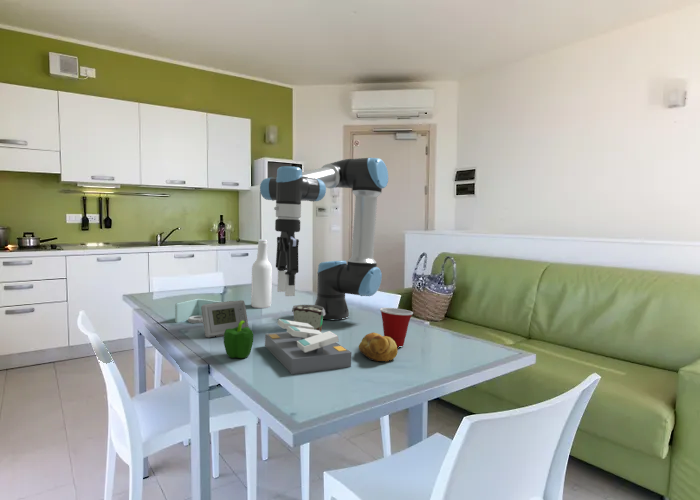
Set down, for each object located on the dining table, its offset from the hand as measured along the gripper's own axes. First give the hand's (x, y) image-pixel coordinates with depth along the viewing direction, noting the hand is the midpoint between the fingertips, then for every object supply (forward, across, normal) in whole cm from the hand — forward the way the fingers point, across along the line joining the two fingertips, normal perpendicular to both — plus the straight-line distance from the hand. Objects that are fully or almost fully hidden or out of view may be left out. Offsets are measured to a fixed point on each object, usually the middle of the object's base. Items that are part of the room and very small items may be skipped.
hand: (285, 293), depth 133 cm
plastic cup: (+17, +9, +34) cm, 40 cm away
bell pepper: (+17, +3, -14) cm, 23 cm away
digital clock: (+17, -23, -14) cm, 32 cm away
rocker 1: (+10, 0, +4) cm, 11 cm away
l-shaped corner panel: (+18, -43, -19) cm, 51 cm away
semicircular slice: (+17, -12, +14) cm, 25 cm away
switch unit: (+17, +9, +4) cm, 20 cm away
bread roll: (+17, +17, +23) cm, 34 cm away
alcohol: (+17, -63, +10) cm, 66 cm away
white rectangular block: (+10, +18, +4) cm, 21 cm away
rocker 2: (+10, +9, +4) cm, 14 cm away
